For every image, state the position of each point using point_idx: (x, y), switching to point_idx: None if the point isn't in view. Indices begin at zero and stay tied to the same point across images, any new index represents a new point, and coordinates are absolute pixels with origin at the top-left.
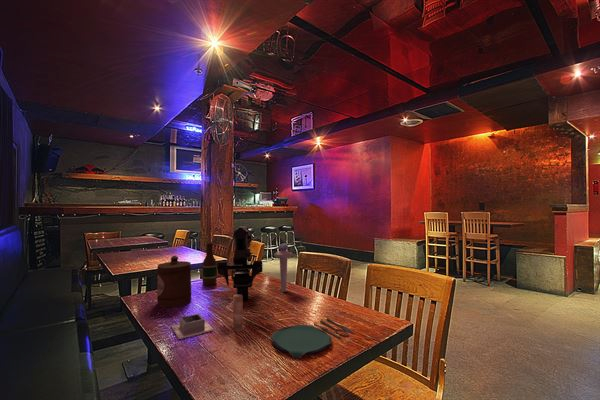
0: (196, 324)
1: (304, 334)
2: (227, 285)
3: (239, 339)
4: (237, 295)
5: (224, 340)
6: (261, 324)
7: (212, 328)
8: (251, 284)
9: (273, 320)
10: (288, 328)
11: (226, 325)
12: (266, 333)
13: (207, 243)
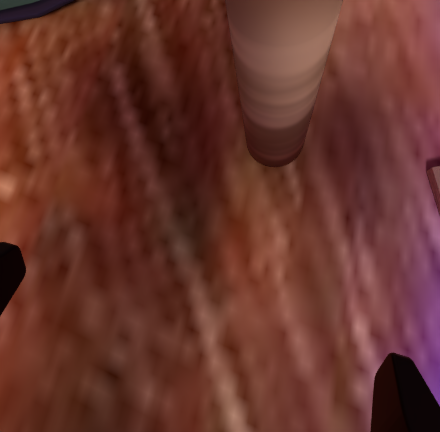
0: None
1: None
2: (401, 359)
3: None
4: (284, 9)
5: (368, 34)
6: (129, 156)
7: (436, 174)
8: (7, 258)
9: (48, 184)
10: (25, 3)
11: (334, 223)
12: (140, 40)
13: None
